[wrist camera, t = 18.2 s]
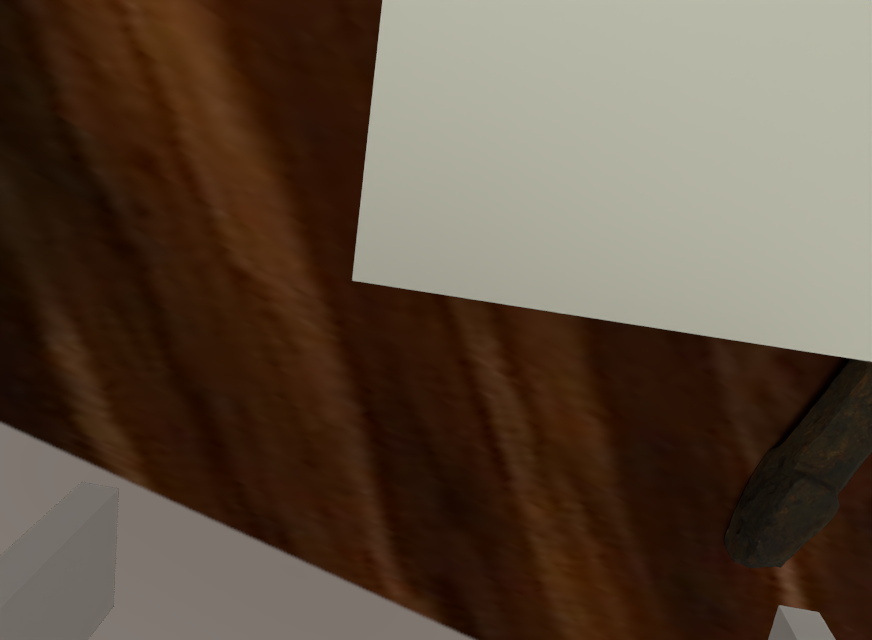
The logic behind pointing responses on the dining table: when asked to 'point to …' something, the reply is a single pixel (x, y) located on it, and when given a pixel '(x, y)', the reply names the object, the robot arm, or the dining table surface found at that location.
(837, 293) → the low shelf
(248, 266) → the dining table surface
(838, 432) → the hand tool
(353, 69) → the dining table surface
